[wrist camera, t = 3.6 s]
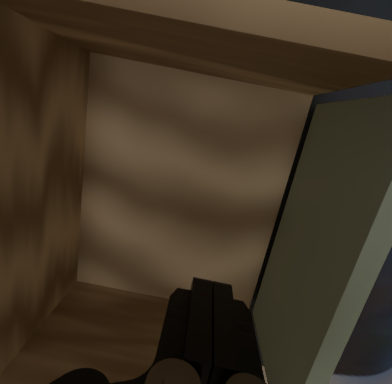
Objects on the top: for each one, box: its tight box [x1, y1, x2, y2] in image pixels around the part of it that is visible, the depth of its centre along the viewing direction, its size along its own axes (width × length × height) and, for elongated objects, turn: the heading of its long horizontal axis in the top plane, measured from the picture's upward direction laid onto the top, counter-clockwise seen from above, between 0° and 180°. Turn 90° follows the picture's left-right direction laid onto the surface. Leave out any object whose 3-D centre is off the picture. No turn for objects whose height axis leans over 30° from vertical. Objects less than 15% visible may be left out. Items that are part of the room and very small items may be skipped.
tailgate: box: [253, 95, 392, 384], centre depth 15 cm, size 17×2×9 cm, turn 169°
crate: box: [0, 0, 392, 384], centre depth 15 cm, size 20×16×11 cm
